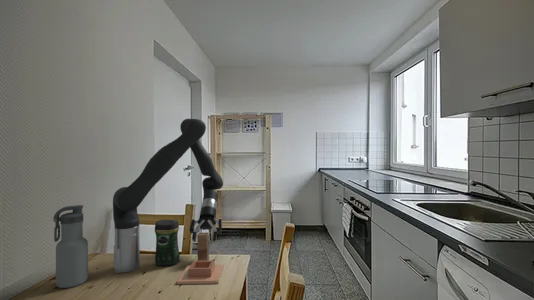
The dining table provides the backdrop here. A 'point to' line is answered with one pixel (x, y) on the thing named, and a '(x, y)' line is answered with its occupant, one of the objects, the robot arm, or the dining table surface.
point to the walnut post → (203, 246)
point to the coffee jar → (166, 242)
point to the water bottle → (70, 248)
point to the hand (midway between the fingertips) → (204, 241)
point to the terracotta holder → (201, 273)
